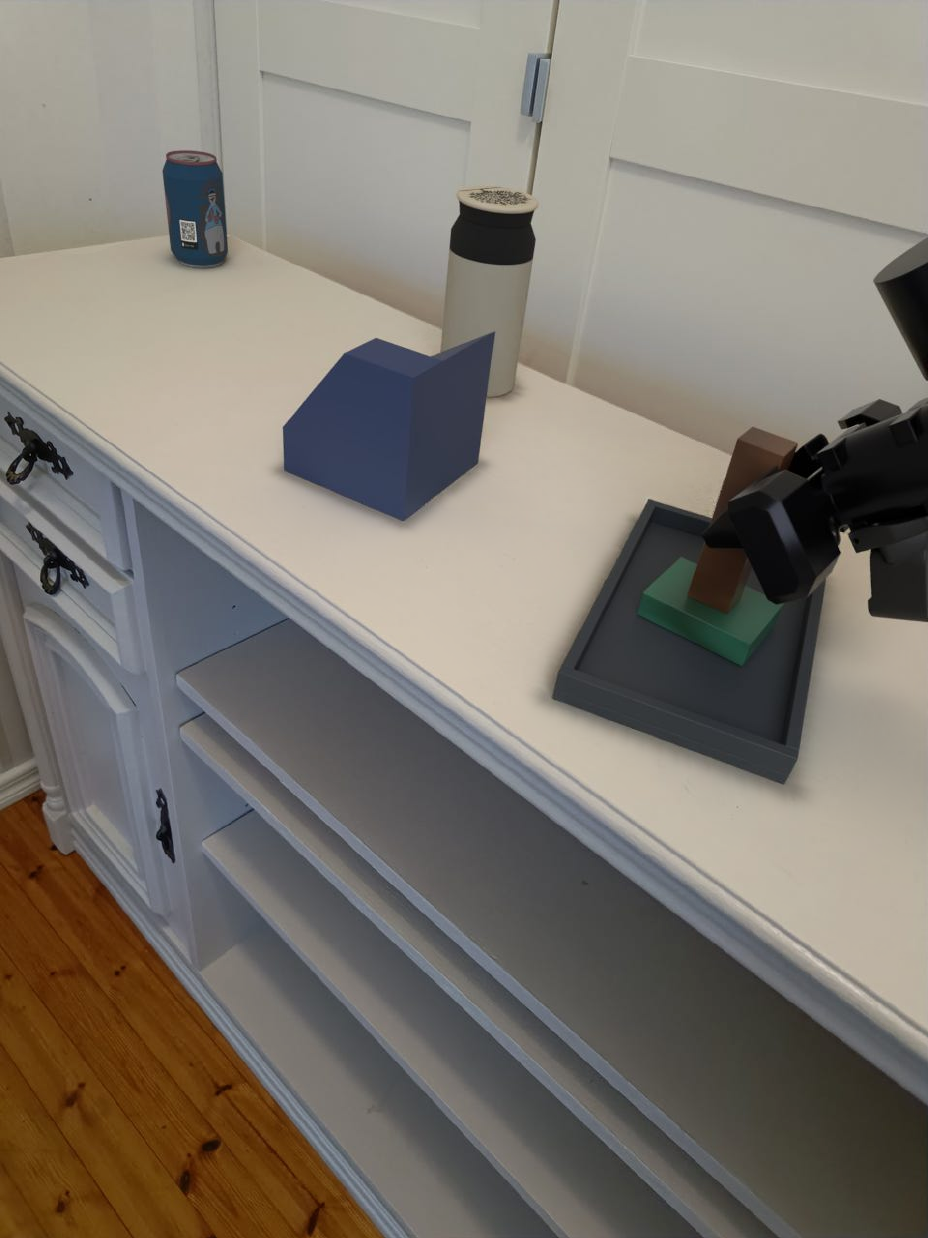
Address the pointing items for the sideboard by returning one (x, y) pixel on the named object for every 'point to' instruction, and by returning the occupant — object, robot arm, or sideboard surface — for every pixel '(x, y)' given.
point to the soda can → (195, 208)
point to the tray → (691, 661)
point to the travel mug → (490, 276)
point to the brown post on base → (722, 570)
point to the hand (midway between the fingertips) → (715, 532)
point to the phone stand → (392, 424)
